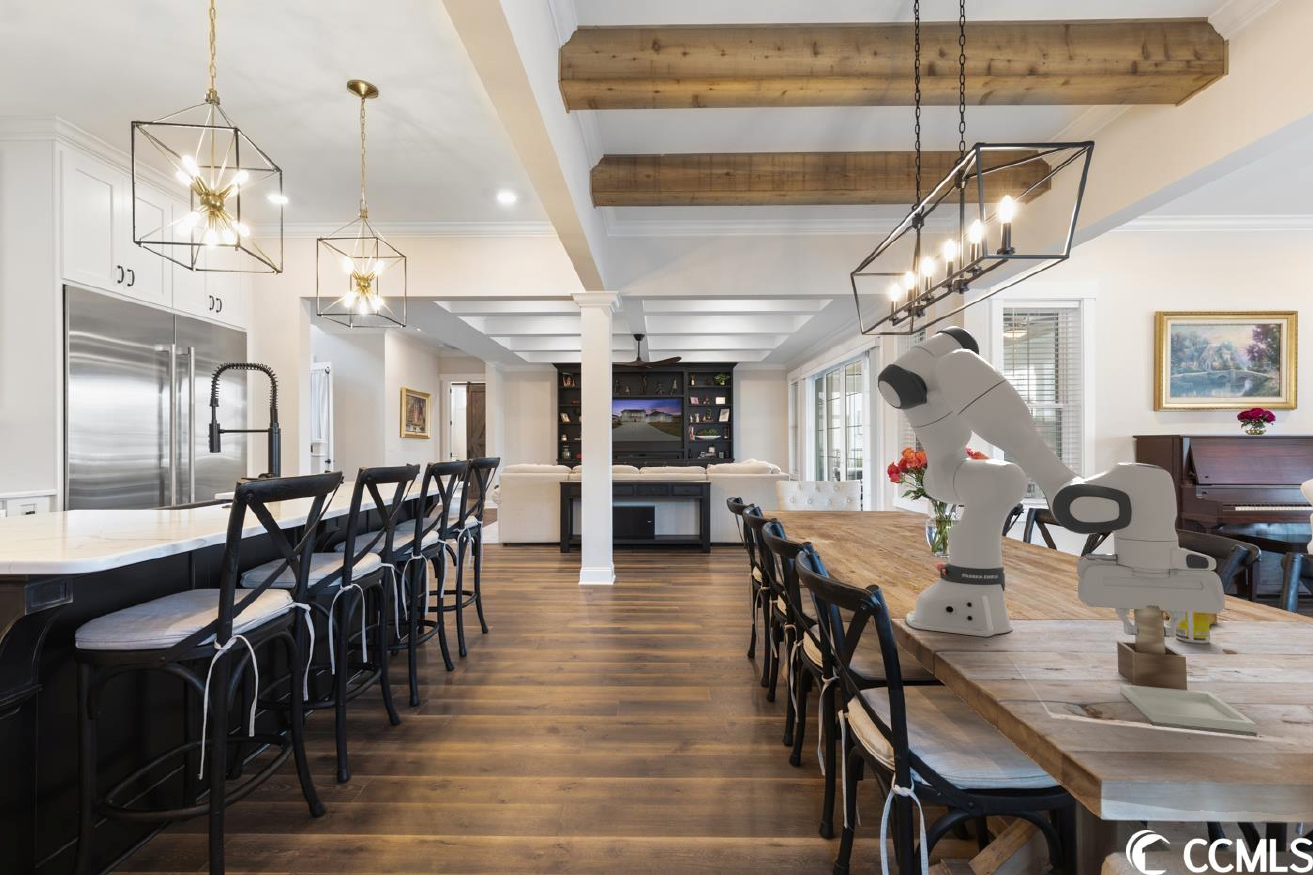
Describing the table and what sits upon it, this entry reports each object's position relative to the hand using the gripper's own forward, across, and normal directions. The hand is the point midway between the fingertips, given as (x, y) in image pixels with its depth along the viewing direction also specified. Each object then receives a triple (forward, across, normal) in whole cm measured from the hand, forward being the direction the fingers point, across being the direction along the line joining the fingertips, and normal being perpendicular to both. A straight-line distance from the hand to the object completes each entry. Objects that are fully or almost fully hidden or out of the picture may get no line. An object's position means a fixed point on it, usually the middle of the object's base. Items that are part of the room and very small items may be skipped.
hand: (1149, 635), depth 106 cm
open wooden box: (+8, 0, 0) cm, 8 cm away
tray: (+8, -1, -14) cm, 16 cm away
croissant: (+9, +26, +52) cm, 59 cm away
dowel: (+8, 0, 0) cm, 8 cm away
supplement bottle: (+8, +19, +32) cm, 38 cm away
